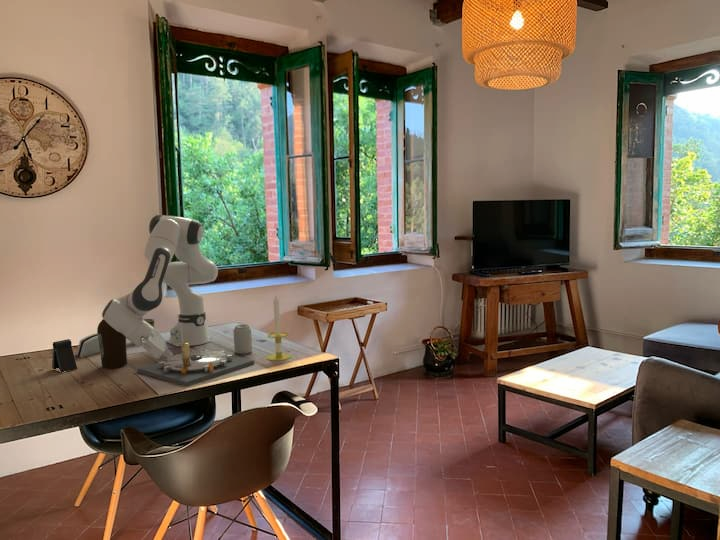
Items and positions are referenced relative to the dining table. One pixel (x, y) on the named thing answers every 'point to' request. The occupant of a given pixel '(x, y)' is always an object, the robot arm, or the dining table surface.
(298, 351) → the dining table surface
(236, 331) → the can
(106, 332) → the olive oil
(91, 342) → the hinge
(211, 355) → the sprocket
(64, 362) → the door stopper
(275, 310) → the candle
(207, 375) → the index plate
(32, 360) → the dining table surface
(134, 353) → the dining table surface
